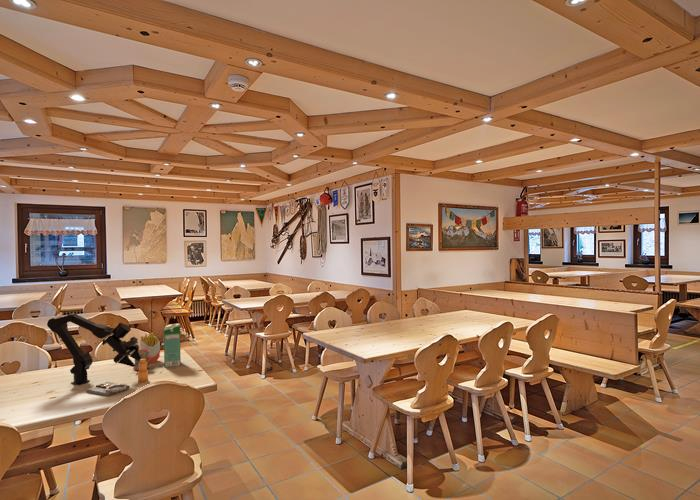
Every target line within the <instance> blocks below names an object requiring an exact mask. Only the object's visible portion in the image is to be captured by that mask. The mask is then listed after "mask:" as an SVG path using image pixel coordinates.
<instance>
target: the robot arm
mask: <svg viewBox="0 0 700 500" xmlns="http://www.w3.org/2000/svg"><path fill="white" fill-rule="evenodd" d="M68 323H73V324H74V325H76V326H79V327H81V328H83V329H84V330H85V329H86V330H87V331H89V332H90V333H92V335H93V336H95V337H96V338H98V339H102V343H101V344H102V346H104V345H108V346H109V347H110V348H112V352H116V353H117V354H116V355H115V356H114V358H113V362H114V363H115V364H122V365H125V366H129V367H132V368H133V367H134V366H135V362H134V361H133V360H135V359H136V360H138V361H140V359H142V358H141V356H140V354H139V352H138V351H139V350H140V345H139V344H138V343H139V341H138V340H139V339H138V338H137V337H135V336H133V337H130V339H129V340H128V341H126V340H122V339H124V338H125V337H126V336H127V334H129V332H131V330H132V329H131V327H130V326H129V325H128V324H125V323H123V322H119V323H118V325H117V326H115V327H111V326H109V325H106V324H103V323H102V324H100V323H96V322H94V321H91V320H89V319H87V318H85V317H84V316H83V317H82V316H81V315H78V314H77V313H74V312H72V313H69V314H67V315H64V316H62V315H61V316H55V317H51V318H50V319H48V320H47V324H46V326H47V328H48V329H49V330H50V331H51V332H53V333H54V334H56V335H58V337H59V338H60V340H61V341H62V343H63V344H64V346H65V348H66V349H67V351H69V353H70V354H71V356H72V362H73V365H74V366H73V367H72V368H71V369H69V371H70V374H71V375H72V374H73V381H71V382H70V384H72V385H79V386H80V385H83V384H85V383H88V382H89V383H90V381H91V379H90V380H89V379H88V371H87V370H89V369H90V367H91V365H92V364H93V362H94V361H93V356H92V355H91V354H90V352H89V351H87V352H84V351H83V350H82V348H81V347H80V346H79V344H78V342H77V341H76V339H74V337H73V336H72V334H71V333H70V330H69V329H68ZM130 358H132V359H133V360H132V359H130Z"/></svg>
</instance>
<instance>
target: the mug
mask: <svg viewBox="0 0 700 500" xmlns="http://www.w3.org/2000/svg"><path fill="white" fill-rule="evenodd" d="M138 352H139V354H140V356H141V358H142V359H146V362H147V357H148V355H149V356H150V359H151V355H150V354H148V353H149V350H147V349H142V350H140V349H139V351H138ZM150 359H149V361H150ZM149 361H148V362H149ZM148 362H147V369H148V368H149V367H150V364H148ZM139 363H140V361H138V360H136V359H134V364H135V366H134V367H132V369H133V370H134V371H139Z"/></svg>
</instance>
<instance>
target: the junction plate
mask: <svg viewBox="0 0 700 500" xmlns="http://www.w3.org/2000/svg"><path fill="white" fill-rule="evenodd" d="M130 388H131V387H130V385H129V384H126V383H116V382H111V381H107V382H103V383H99V384H97V385H94V386H93V387H89V388H86V389H85V393H88V394H94V395H99V396H104V397H111V396H113V395H116V394H119V393H121V392H124V391H126V390H129V389H130Z"/></svg>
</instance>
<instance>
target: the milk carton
mask: <svg viewBox="0 0 700 500" xmlns="http://www.w3.org/2000/svg"><path fill="white" fill-rule="evenodd" d="M163 350H164V351H163V353H164V354H163V355H164V356H163V359H164V361H163V363H164V364H163V365H164V368H174V367H180V366H182V364H181V363H182V362H181V324H180V322H179V323H175V324H168V325H165V327H163Z"/></svg>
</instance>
